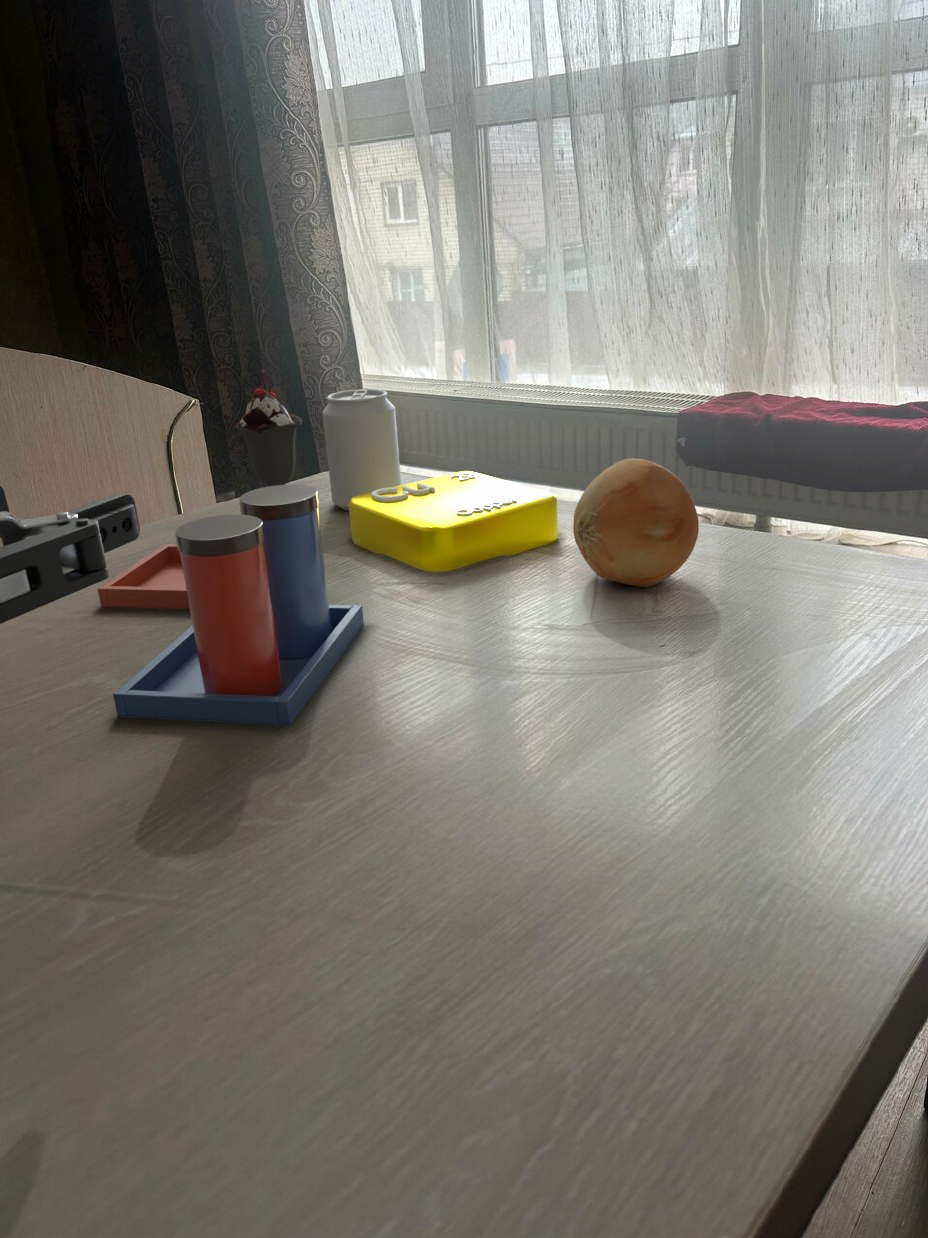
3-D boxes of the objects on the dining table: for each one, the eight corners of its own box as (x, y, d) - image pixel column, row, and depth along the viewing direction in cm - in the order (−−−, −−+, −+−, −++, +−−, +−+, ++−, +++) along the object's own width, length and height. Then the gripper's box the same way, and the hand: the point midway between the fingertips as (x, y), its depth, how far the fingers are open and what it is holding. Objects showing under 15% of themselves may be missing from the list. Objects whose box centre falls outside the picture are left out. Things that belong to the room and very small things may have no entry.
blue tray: (118, 724, 60) (112, 694, 60) (222, 627, 74) (218, 601, 73) (291, 733, 58) (286, 702, 57) (365, 631, 72) (362, 605, 71)
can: (322, 514, 101) (309, 399, 97) (347, 495, 108) (335, 386, 104) (390, 516, 100) (380, 398, 95) (411, 496, 106) (402, 385, 102)
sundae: (291, 506, 105) (273, 365, 100) (324, 517, 101) (307, 370, 95) (237, 519, 102) (215, 374, 96) (269, 532, 97) (247, 379, 91)
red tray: (102, 612, 78) (97, 588, 78) (168, 565, 89) (164, 543, 88) (244, 616, 76) (240, 591, 75) (295, 567, 86) (293, 545, 85)
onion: (547, 585, 79) (545, 464, 75) (626, 554, 85) (627, 441, 81) (642, 615, 72) (644, 484, 68) (720, 579, 78) (727, 457, 74)
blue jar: (249, 658, 67) (226, 505, 63) (277, 628, 72) (257, 484, 68) (320, 661, 66) (301, 505, 62) (344, 631, 71) (327, 484, 66)
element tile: (434, 581, 81) (430, 526, 79) (344, 542, 92) (339, 493, 91) (567, 540, 89) (566, 490, 87) (469, 509, 100) (467, 464, 99)
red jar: (189, 706, 61) (158, 539, 57) (224, 670, 65) (198, 514, 61) (267, 710, 60) (241, 540, 56) (296, 673, 64) (275, 514, 60)
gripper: (-190, 547, 30) (165, 437, 43) (-439, 517, 35) (-56, 427, 49) (-120, 761, 32) (193, 594, 46) (-361, 700, 38) (-20, 568, 52)
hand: (64, 508), depth 47 cm, fingers open, 8 cm apart
